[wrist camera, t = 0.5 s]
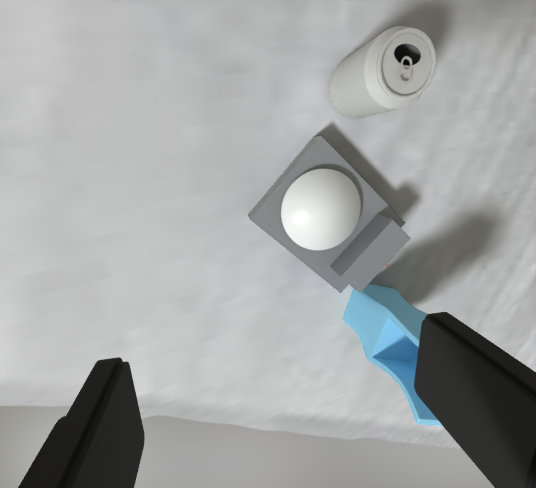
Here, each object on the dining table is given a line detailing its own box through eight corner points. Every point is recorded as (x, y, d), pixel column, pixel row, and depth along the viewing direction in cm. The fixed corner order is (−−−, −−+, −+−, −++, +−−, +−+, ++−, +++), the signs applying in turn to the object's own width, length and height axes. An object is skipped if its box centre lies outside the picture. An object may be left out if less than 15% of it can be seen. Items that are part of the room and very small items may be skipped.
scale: (247, 215, 42) (254, 226, 36) (313, 136, 41) (333, 133, 34) (333, 284, 48) (352, 305, 41) (393, 218, 46) (423, 229, 40)
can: (385, 63, 40) (454, 28, 28) (372, 123, 42) (431, 113, 30) (332, 51, 38) (383, 9, 27) (321, 114, 40) (364, 99, 29)
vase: (356, 280, 49) (446, 362, 30) (397, 289, 50) (506, 370, 32) (340, 322, 50) (416, 424, 32) (380, 329, 52) (474, 429, 34)
